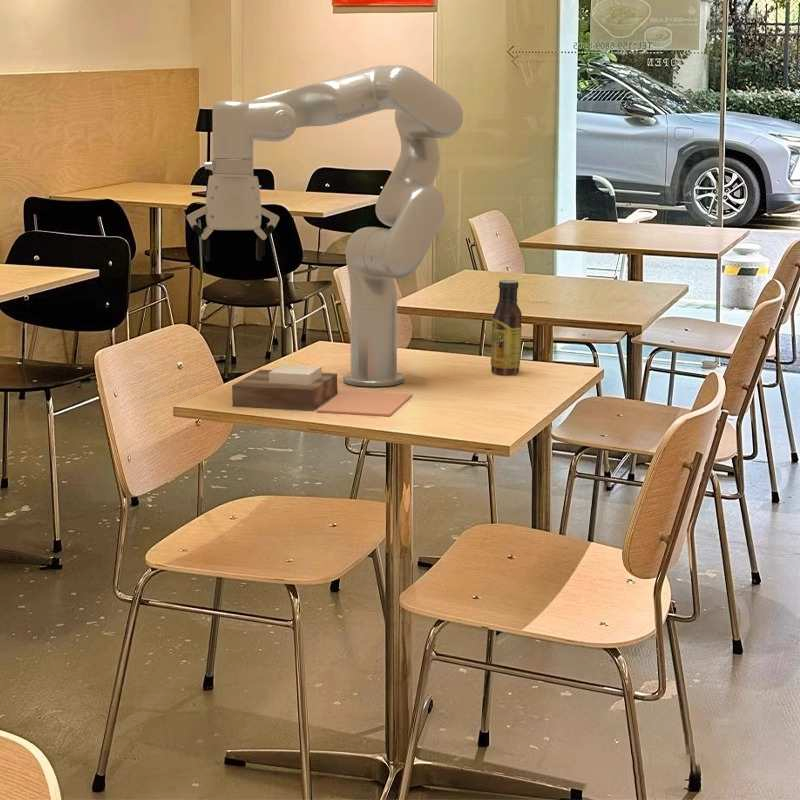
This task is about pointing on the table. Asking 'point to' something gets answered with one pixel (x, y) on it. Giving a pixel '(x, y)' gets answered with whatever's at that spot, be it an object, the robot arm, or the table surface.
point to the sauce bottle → (506, 331)
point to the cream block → (295, 374)
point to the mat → (365, 403)
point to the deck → (283, 392)
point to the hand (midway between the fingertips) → (233, 260)
